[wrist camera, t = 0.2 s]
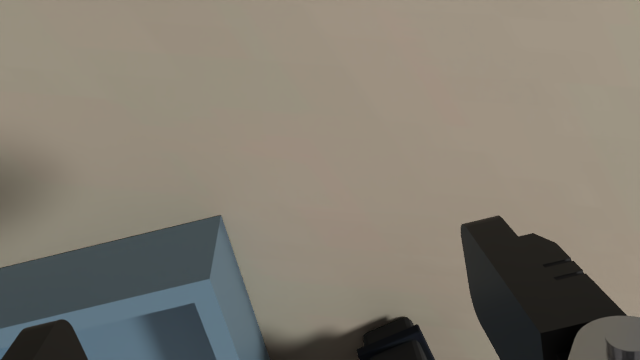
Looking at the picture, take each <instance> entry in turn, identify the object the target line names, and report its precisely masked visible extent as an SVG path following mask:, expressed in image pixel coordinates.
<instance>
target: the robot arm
mask: <svg viewBox="0 0 640 360" xmlns="http://www.w3.org/2000/svg"><path fill="white" fill-rule="evenodd" d="M461 238H462V245H463V251H464V257H465V264H466V270H467V276H468V283H469V289H470V294H471V299H472V303H473V306H474V309H475V312H476V315H477V317H478V320H479V322H480V324H481V326H482V327H483V329H484V331H485V333H486V335H487V336H488V338H489V340H490V342H491V344H492V345H493V347H494V349H495V351H496V353H497V354H498V356H499V358H500V360H640V317H634V316H627V315H626V314H625V313H624V312H623V311H622V310H621V309H620V308H619V307H618V306H617V305H616V304H615V303H614V302H613V301H612V300H611V299H610V298H609V297H608V296H607V295H606V294H605V293H604V292H603V291H602V290H601V289H600V288H599V286H598V285H597V284H596V283H595V282H594V281H593V280H592V279H591V278H590V277H589V276H588V275H587V274H584V273H583V270H582V269H581V268H580V267H579V266H578V265H577V264H576V263H575V262H574V261H571V258H570V257H569V256H568V255H567V254H566V253H565V252H564V251H563V250H562V249H561V248H560V247H559V246H558V245H557V244H556V243H554V242H552V241H550V240H548V239H545V238H543V237H541V236H538V235H536V234H534V233H532V234H528V235H524V236H520V237H518V236H517V235H516V234H515V232H514V231H513V230H512V229H511V228H510V227H509V225H508V224H507V223H506V222H505V221H504V220H503V219H502V218H501V217H500V216H494V217H490V218H486V219H482V220H478V221H474V222H469V223H465V224H462V225H461ZM0 360H88V358H87V356H86V354H85V352H84V350H83V348H82V346H81V343H80V341H79V339H78V337H77V335H76V333H75V331H74V329H73V327H72V325H71V324H70V323H69V322H68V321H66V320H64V319H60V320H56V321H52V322H48V323H44V324H39V325H35V326H31V327H27V328H24V329H23V330H22V331H21V332H20V333H19V334H18V336H17V337H16V339H15V340H14V342H13V343H12V345H11V346H10V347H9V349H8V350H7V352H6V353H5V355H4V356H3V357H2V359H0Z"/></svg>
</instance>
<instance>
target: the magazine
mask: <svg viewBox="0 0 640 360" xmlns="http://www.w3.org/2000/svg"><path fill="white" fill-rule="evenodd" d="M363 341H364V347H361V348H359V349H357V352H358V357H359V359H360V360H435V359H434V357H433V355H432V353H431V351H430V348H429V346H428V344H427V342H426V340H425V338H424V336H423V334H422V332H421V330H420V328H419V326H418V325H417V324H416V325H413V323H412V321H411V320H410V319H408V318H407V317H405V318H402V319H399V320H397V321H394V322H392V323H390V324H387V325H385V326H383V327H380V328H378V329H376V330H373V331H371V332H368V333H366V334H365V335H364V337H363Z"/></svg>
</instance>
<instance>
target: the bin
mask: <svg viewBox="0 0 640 360" xmlns="http://www.w3.org/2000/svg"><path fill="white" fill-rule="evenodd" d="M60 319H64V320H66V321H68V322H69V323H70V324H71V325H72V327H73V329H74V331H75V333H76V335H77V337H78V339H79V341H80V343H81V346H82V348H83V350H84V352H85V354H86V356H87V358H88V360H270V358H269V355H268V352H267V349H266V346H265V343H264V340H263V337H262V334H261V331H260V329H259V326H258V323H257V320H256V317H255V314H254V311H253V308H252V305H251V302H250V299H249V296H248V293H247V290H246V287H245V284H244V282H243V279H242V276H241V273H240V270H239V267H238V264H237V261H236V258H235V255H234V252H233V249H232V246H231V243H230V240H229V237H228V234H227V232H226V229H225V226H224V223H223V220H222V217H221V215H220V216H216V217H212V218H208V219H203V220H199V221H195V222H191V223H187V224H183V225H178V226H174V227H170V228H166V229H162V230H158V231H154V232H149V233H145V234H141V235H137V236H133V237H129V238H124V239H120V240H116V241H112V242H108V243H104V244H99V245H95V246H91V247H87V248H83V249H79V250H75V251H70V252H66V253H62V254H58V255H54V256H50V257H45V258H41V259H37V260H33V261H29V262H25V263H20V264H16V265H12V266H8V267H4V268H0V359H2V357H3V356H4V355H5V353H6V352H7V350H8V349H9V347H10V346H11V345H12V343H13V342H14V340H15V339H16V337H17V336H18V334H19V333H20V332H21V331H22V330H23V329H24V328H27V327H31V326H35V325H39V324H44V323H48V322H52V321H56V320H60Z"/></svg>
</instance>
